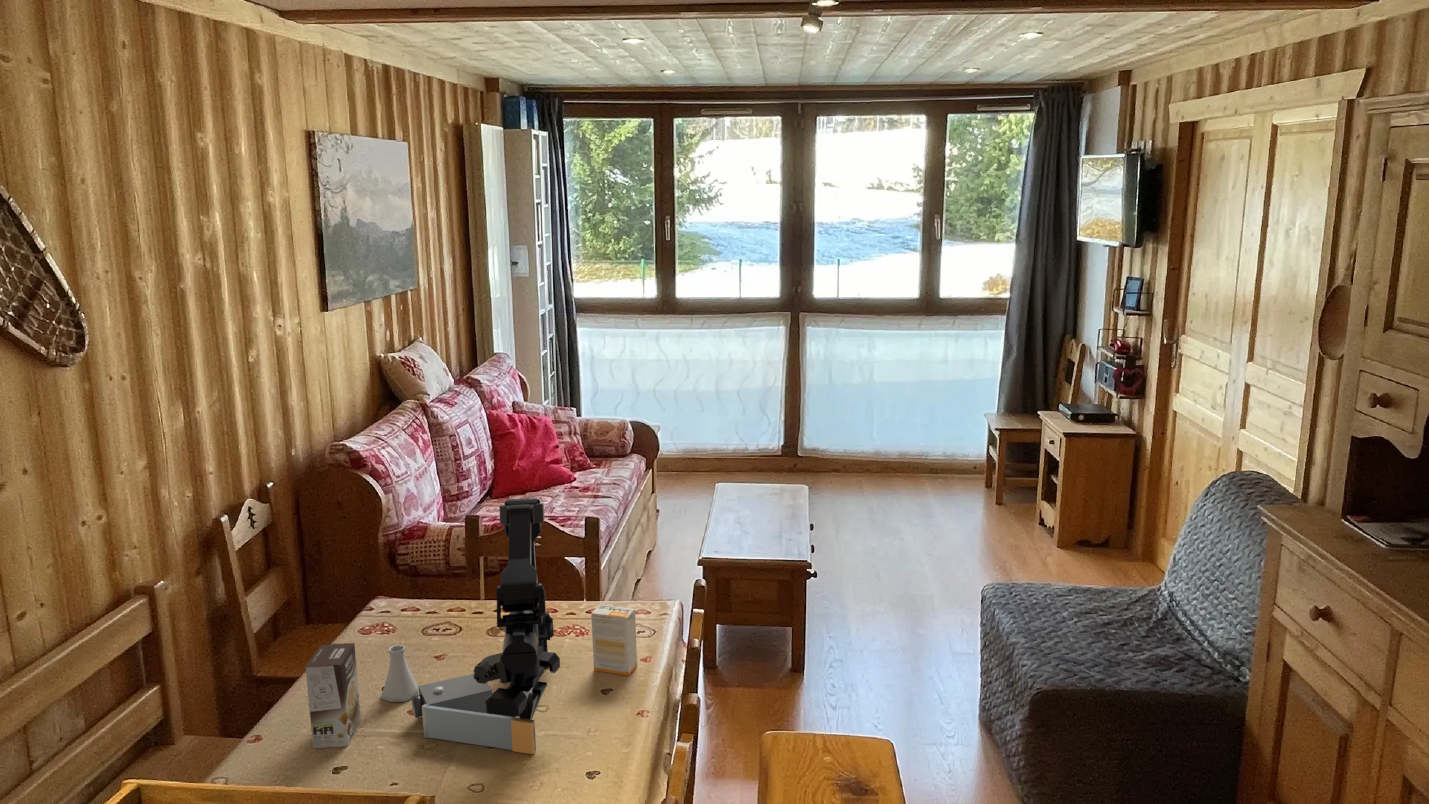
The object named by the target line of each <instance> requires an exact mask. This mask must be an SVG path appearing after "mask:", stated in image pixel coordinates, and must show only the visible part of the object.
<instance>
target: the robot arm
mask: <svg viewBox="0 0 1429 804" xmlns="http://www.w3.org/2000/svg"><path fill="white" fill-rule="evenodd" d="M544 505H545V504H544V503H543V502H541V500H540V499H538V497H531V498H529V497H528V498H514V499H513V498H511V499H510V498H509V499H506V500H505V501H504V505H503V504H501V505H499V506H498V507H499V525H503V526H504V534H505V536H506V537H507V538H508V551H507V552H508V557H507V558H508V559H507V562H508V563H507V565H506V567H505V568H504V569H503V570H502V571H501V573H500V585H496V627H497V628H504V638H503V644H502V652H500V653H499V652H498V653H494V654H492V655H488V656H486V657H484V658H483V659H481V661H480V662H478V663H477V664H476V665H475V666H474V669H473V674H474V676H473V677H474V679H476V681H477V682H478V683H482V684H485V683H487V682H488V683H489V682H494V681H496V680H497V681H498V680H499V683H500V684H508V683H509V684H510V685H508V687H507V688H505V687H504V688H503V687H498V688H496V689H495V690H494V691H492V695H491V696H490V697H489V698H488V699H487V700H486V701H485V709H486V712H487V713H488V714H494V715H501V716H508V717H516V718H523V719H530V720H533V718H534V715H535V712H536V711H537V707H538V706H539V703H540V701H541V698H542V696H543V694H544V692H545V690H546V688H547V686H548V682H546V681H541V677H542V676H543V675H544V674H545V670H546V669H547V668H549V672H550V673H551V674H556V673H557V671H558V670H559V669H560V667H561V658H560V657H559V655H558V654H557V653H555V652H551V651H548V641H551V638H553V637H554V634H555V632H554V619H553V617H552V616H551V614H550V611H547V609H546V608H547V605H546V589H545V588H544V587H543V584H542V582H539V581H538V572H537V571H538V570H537V564H536V563H537V562H536V549H535V545H536V544H535V542H536V540H537V539H538V537H539V536H540V534H541V533H542V523H544V522H545V506H544ZM502 611H503V612H504V613H508V614H504V615H502Z"/></svg>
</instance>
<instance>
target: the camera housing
mask: <svg viewBox="0 0 1429 804" xmlns="http://www.w3.org/2000/svg"><path fill="white" fill-rule="evenodd" d="M473 676H474V673H470V674H466V675H461V676H456V677H453V678H448V679H444V680H439V681H434V682H430V683H426V684H421V685H418V686H419V691H418V694H417V695H416V696H412V698H411V705H412V706H411V708H412V713H413V717H414V718H415V719H417V718H422V720H423V717H422V706H423V705H429V706H436V707H443V708H451V709H458V710H465V711H472V712H480V713H487V712H486V709H485V701H486V700H487V699H488V698H489V697H490V696H491V695H492V693H493V689H492V687H491V686H490V684H489V682H487V683H485V684H482V683H478V682H477V681H476V679H474V677H473ZM487 714H488V713H487Z"/></svg>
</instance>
